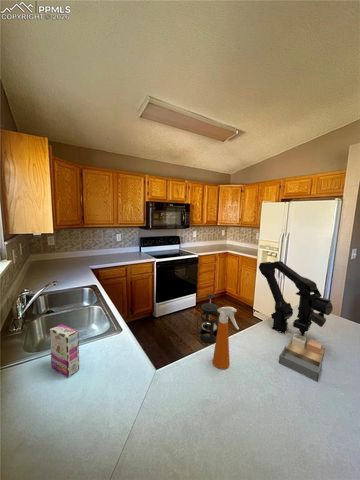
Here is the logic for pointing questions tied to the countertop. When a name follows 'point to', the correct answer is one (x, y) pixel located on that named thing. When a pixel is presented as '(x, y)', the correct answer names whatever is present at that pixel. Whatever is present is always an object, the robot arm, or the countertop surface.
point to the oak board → (305, 354)
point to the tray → (300, 365)
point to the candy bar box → (64, 350)
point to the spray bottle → (223, 338)
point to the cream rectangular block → (299, 341)
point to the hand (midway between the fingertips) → (302, 335)
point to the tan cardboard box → (314, 346)
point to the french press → (208, 322)
